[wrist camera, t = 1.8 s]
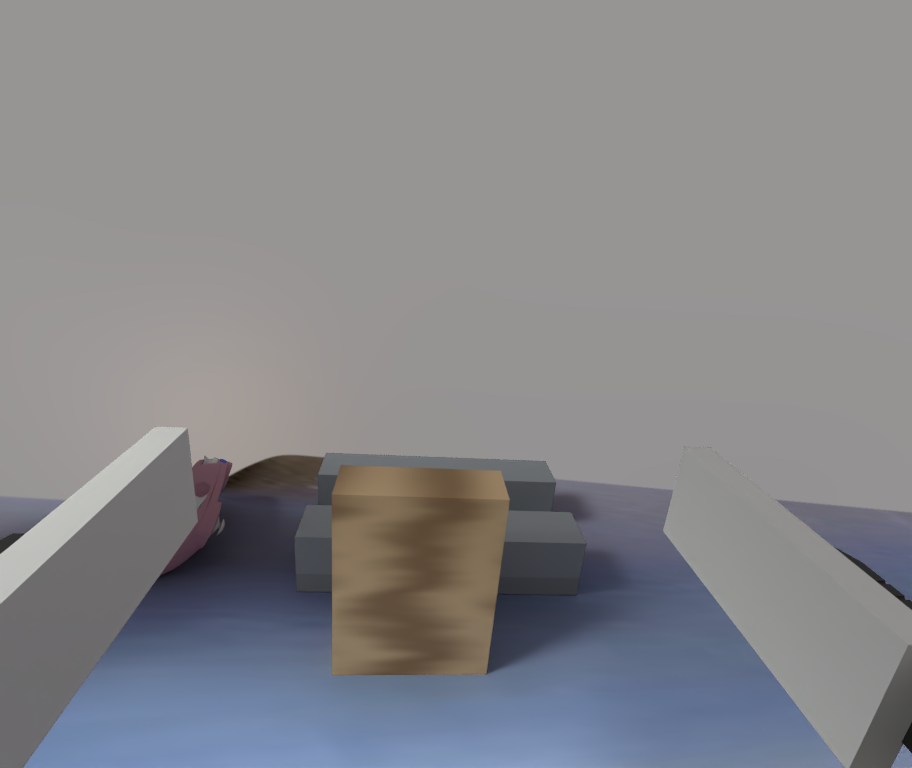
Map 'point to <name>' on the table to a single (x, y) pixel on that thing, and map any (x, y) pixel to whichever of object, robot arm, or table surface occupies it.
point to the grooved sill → (526, 538)
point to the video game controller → (204, 507)
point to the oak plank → (415, 569)
